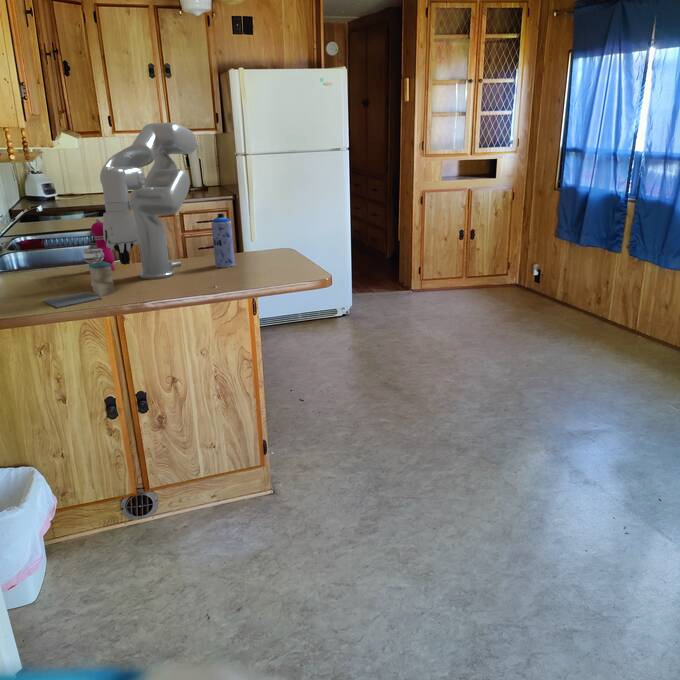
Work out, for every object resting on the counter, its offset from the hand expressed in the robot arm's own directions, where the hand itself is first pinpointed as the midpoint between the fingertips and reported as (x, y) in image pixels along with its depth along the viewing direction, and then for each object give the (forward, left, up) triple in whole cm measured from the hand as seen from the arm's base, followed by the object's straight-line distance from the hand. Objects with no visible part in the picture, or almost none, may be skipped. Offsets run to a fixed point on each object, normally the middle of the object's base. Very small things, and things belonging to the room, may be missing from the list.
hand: (125, 263), depth 202 cm
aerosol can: (-42, -5, -9) cm, 44 cm away
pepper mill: (-8, -36, -9) cm, 38 cm away
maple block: (+9, 0, -9) cm, 12 cm away
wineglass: (+4, -16, -9) cm, 19 cm away
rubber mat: (+19, 0, -9) cm, 21 cm away
